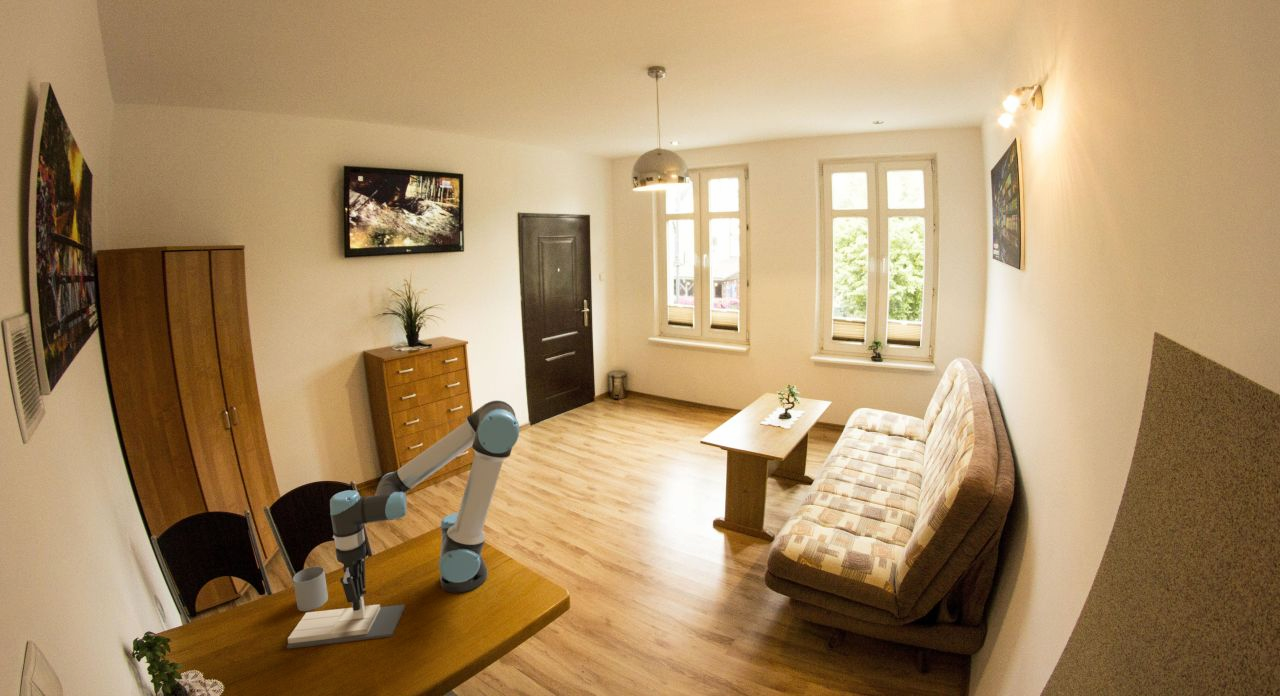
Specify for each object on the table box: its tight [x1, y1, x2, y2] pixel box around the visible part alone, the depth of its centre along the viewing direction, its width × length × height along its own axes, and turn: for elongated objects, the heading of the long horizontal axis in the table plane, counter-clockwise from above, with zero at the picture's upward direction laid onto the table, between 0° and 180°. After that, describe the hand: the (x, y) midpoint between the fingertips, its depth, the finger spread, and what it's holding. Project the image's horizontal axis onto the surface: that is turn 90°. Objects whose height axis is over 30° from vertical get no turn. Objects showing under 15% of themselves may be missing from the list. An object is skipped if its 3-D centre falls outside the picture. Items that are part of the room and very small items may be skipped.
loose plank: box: [330, 603, 381, 638], centre depth 155 cm, size 10×11×2 cm
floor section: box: [286, 604, 406, 650], centre depth 155 cm, size 28×13×2 cm, turn 98°
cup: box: [292, 565, 329, 612], centre depth 166 cm, size 8×8×10 cm
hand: (359, 616), depth 155 cm, fingers closed
